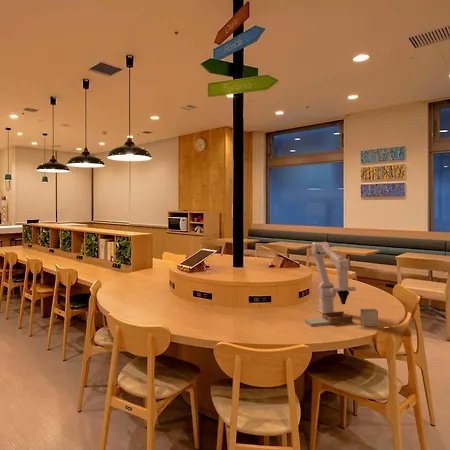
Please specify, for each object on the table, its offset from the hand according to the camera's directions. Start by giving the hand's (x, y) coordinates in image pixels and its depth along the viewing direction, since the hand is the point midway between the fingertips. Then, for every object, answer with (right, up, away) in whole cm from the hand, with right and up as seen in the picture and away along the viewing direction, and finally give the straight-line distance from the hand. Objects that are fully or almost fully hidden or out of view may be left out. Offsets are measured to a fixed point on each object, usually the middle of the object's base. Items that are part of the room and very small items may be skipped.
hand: (343, 303), depth 205 cm
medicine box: (+11, -10, -10) cm, 18 cm away
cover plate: (-16, -11, -4) cm, 20 cm away
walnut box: (-4, -10, -2) cm, 11 cm away
